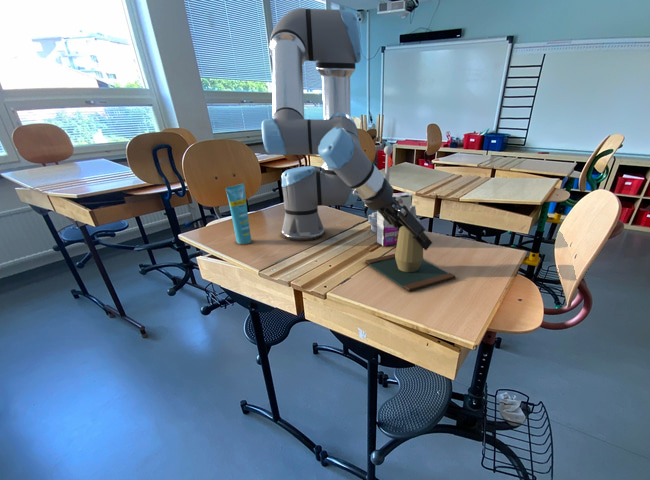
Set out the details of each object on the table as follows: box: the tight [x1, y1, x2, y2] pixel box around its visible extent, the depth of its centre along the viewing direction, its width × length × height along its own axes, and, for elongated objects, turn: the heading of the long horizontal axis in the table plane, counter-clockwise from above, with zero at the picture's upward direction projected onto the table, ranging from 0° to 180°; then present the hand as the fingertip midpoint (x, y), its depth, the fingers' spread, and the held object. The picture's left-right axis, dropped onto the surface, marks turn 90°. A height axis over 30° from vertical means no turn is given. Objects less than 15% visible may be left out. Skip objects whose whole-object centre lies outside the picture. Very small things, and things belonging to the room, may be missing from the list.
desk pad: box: [364, 253, 456, 293], centre depth 98 cm, size 22×16×1 cm
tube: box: [225, 182, 252, 245], centre depth 113 cm, size 7×5×19 cm, turn 157°
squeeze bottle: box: [394, 204, 424, 272], centre depth 93 cm, size 8×8×18 cm
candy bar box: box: [376, 192, 413, 248], centre depth 115 cm, size 11×5×16 cm, turn 118°
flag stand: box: [368, 145, 394, 234], centre depth 125 cm, size 13×13×30 cm
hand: (420, 242), depth 96 cm, fingers closed on squeeze bottle, 6 cm apart
